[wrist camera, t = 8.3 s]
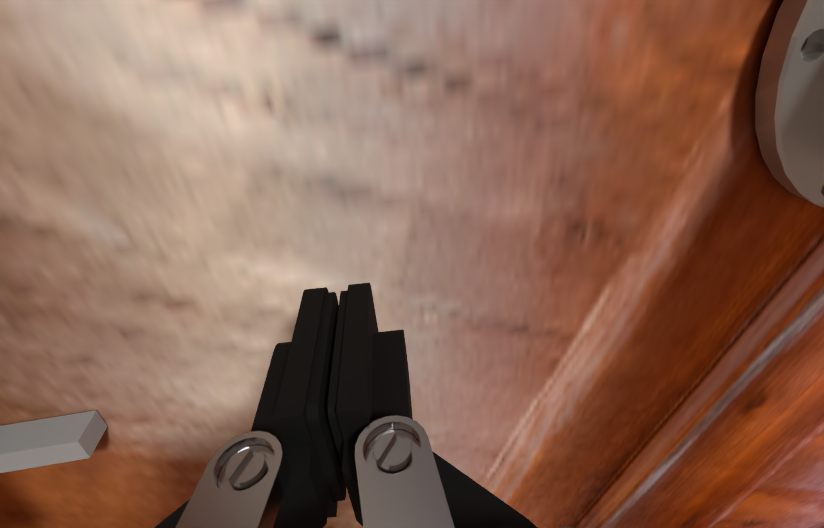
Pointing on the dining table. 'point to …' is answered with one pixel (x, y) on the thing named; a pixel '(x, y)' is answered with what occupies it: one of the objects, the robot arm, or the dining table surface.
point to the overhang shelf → (50, 440)
